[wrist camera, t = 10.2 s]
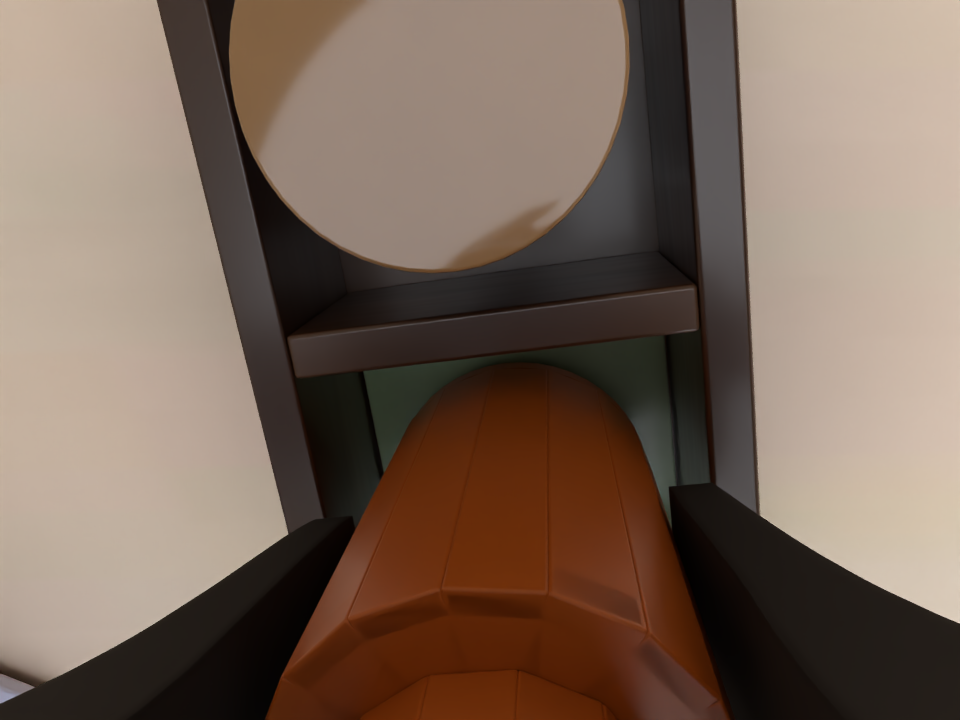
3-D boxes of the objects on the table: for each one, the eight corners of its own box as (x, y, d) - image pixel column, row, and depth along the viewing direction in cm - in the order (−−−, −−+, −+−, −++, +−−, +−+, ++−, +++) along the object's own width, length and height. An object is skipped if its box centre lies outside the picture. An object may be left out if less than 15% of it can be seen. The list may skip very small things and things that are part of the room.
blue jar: (538, 259, 13) (533, 331, 8) (331, 174, 13) (184, 188, 8) (634, 33, 12) (705, -65, 7) (406, -63, 12) (293, -238, 7)
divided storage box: (388, 601, 16) (338, 741, 12) (245, -74, 13) (111, -175, 9) (714, 576, 15) (771, 720, 12) (663, -160, 12) (723, -317, 8)
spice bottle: (585, 621, 14) (641, 1293, 6) (366, 534, 14) (104, 1093, 6) (692, 419, 12) (965, 924, 4) (450, 322, 12) (263, 648, 4)
